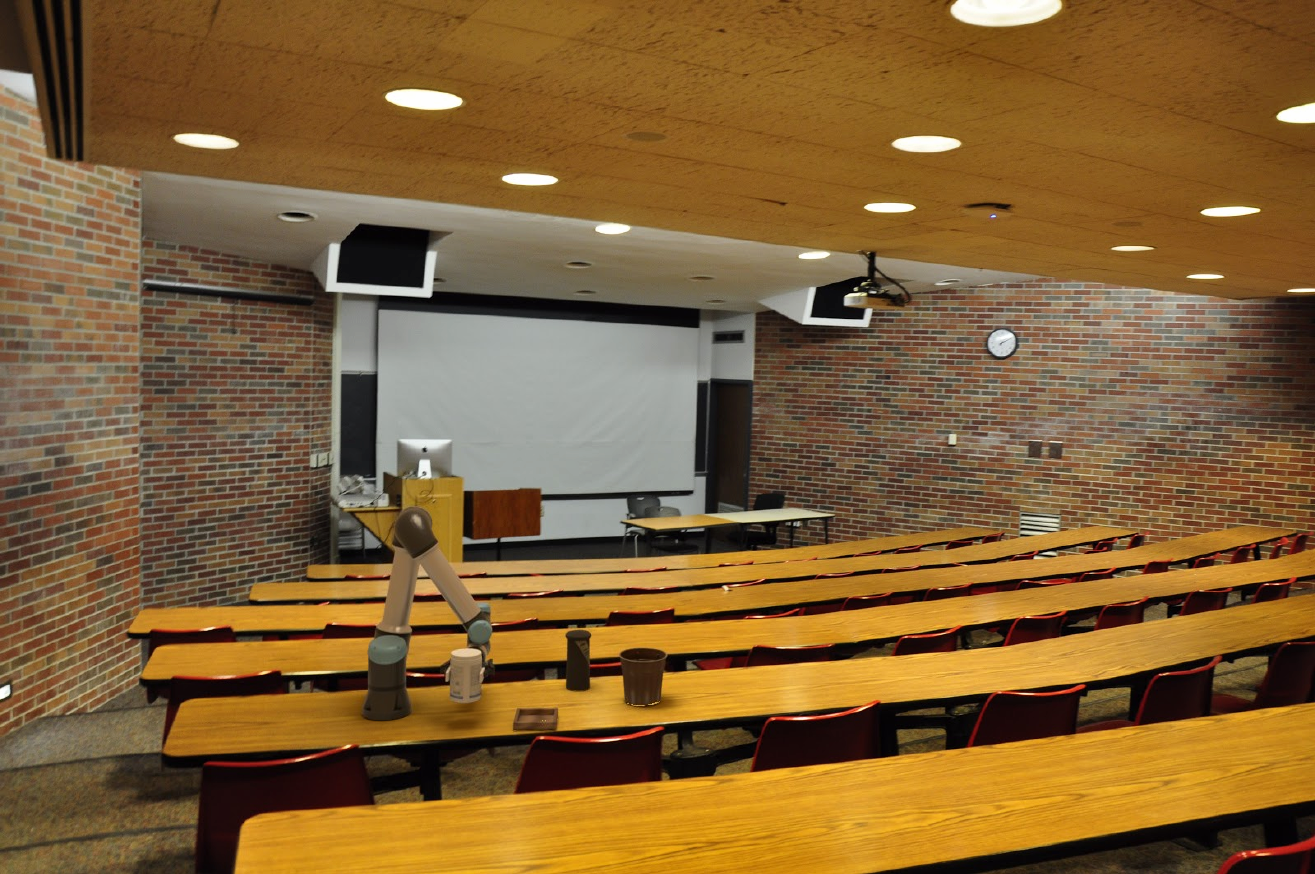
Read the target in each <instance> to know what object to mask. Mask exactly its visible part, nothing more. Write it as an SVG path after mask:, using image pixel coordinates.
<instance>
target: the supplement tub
mask: <svg viewBox="0 0 1315 874" xmlns="http://www.w3.org/2000/svg"><path fill="white" fill-rule="evenodd" d="M450 658H451V662H450V679H449V699H450V700H451V701H452V702H454V703H457V704H470V703H475V702H477V701H479V700H480V699H481V697H482V683H481V682H479V678H480V672H481V670H482V656H481V651H480V650H477V649H469V648H458V649H454V650H452V651H451V652H450Z"/></svg>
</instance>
